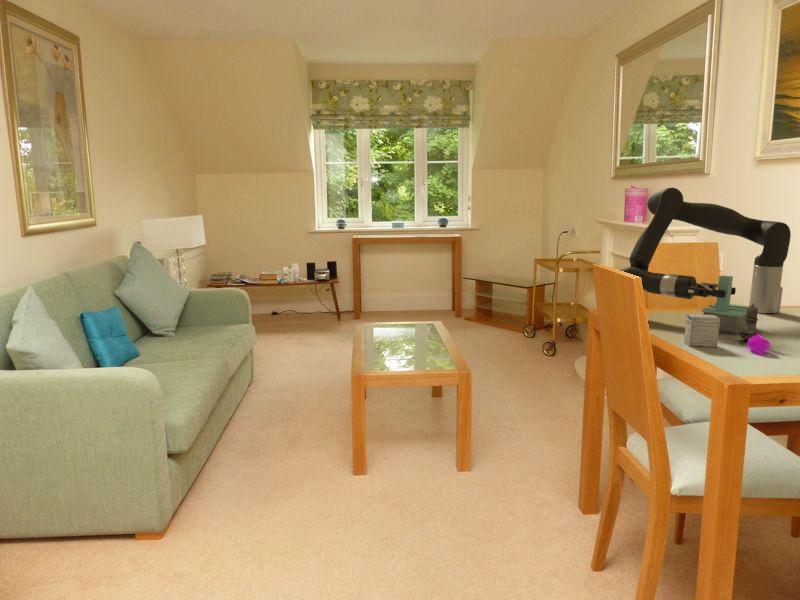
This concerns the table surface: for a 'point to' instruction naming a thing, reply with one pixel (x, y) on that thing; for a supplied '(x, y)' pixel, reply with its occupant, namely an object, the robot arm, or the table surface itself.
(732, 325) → the tub
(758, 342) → the magenta icosahedron
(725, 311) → the lid
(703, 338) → the medicine box
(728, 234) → the robot arm
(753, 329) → the grey chess bishop
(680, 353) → the table surface
